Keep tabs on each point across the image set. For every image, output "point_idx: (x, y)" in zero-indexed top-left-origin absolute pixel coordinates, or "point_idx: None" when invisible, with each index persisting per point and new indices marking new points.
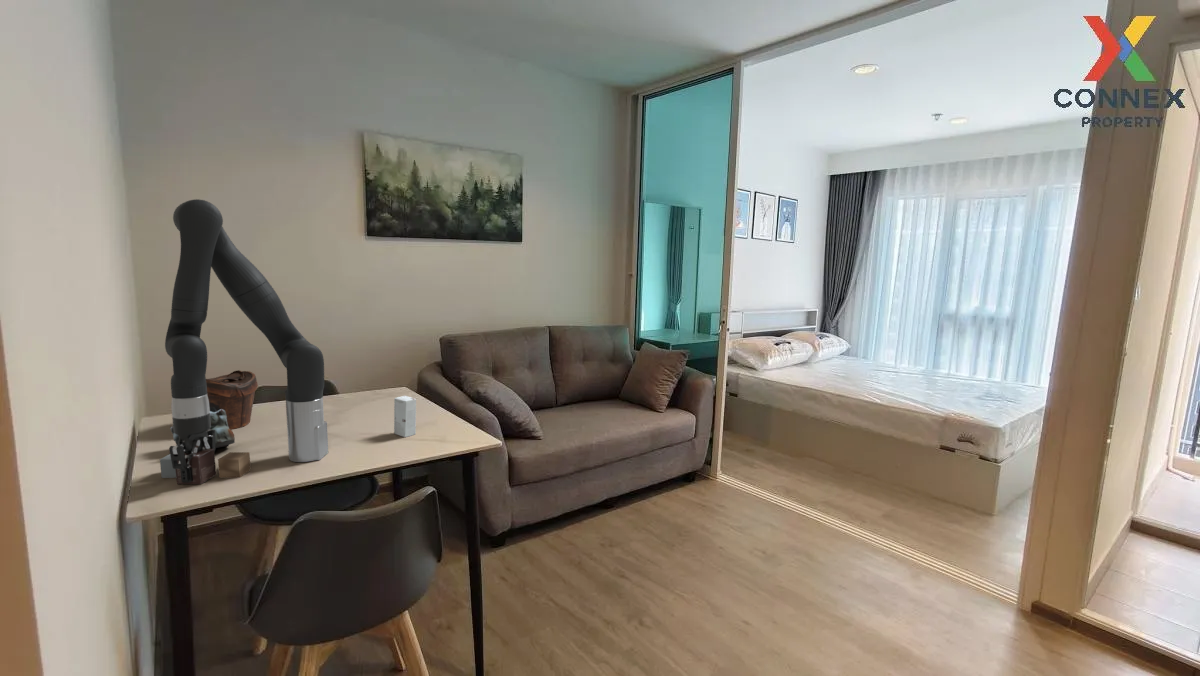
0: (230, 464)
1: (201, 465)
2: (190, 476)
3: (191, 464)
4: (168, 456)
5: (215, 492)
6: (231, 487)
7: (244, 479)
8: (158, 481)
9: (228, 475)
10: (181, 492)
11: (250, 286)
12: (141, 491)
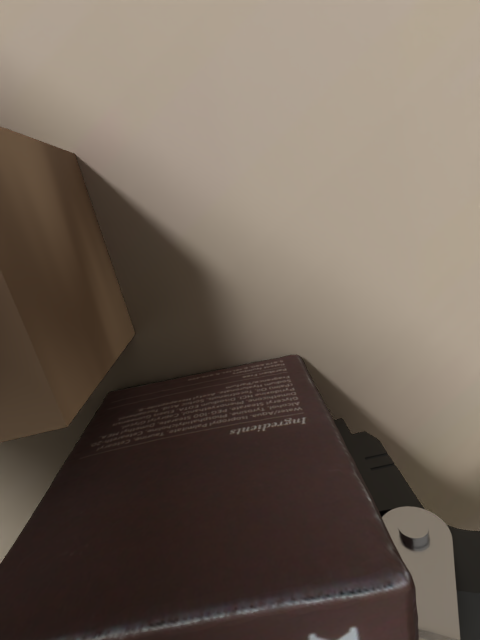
0: (38, 247)
1: (308, 454)
2: (358, 447)
3: None
4: None
5: (421, 96)
6: (296, 31)
7: (97, 61)
8: None
9: (102, 262)
10: (443, 373)
11: None
12: None
